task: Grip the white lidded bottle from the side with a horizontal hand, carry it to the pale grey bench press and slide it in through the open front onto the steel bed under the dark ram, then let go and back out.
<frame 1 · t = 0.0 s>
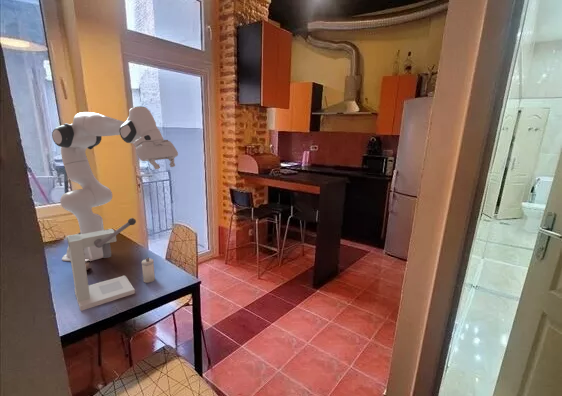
hand: (165, 167, 130), 54 cm above the table, fingers open, 8 cm apart
white lidded bottle: (149, 280, 137), on the table
press: (111, 291, 127), on the table
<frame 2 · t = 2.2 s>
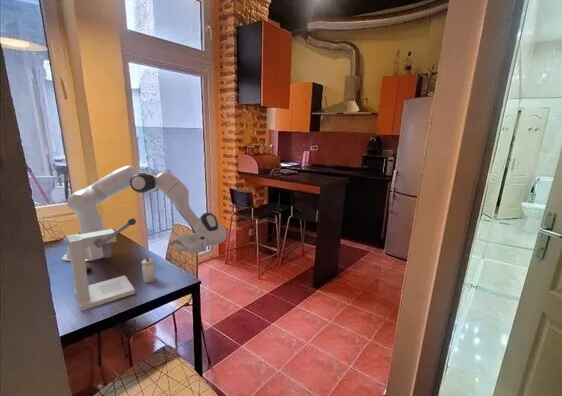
hand: (172, 246, 142), 14 cm above the table, fingers open, 8 cm apart
nothing on the table moved.
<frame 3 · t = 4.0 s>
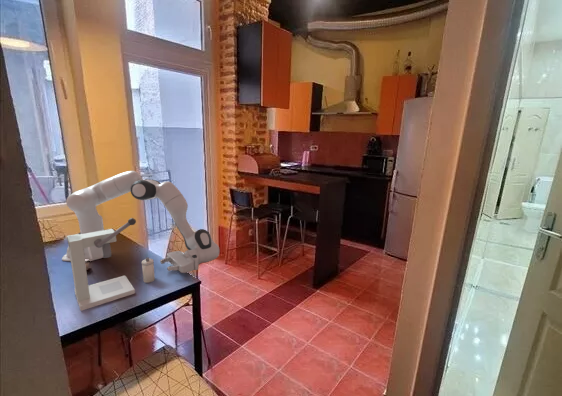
hand: (164, 265, 141), 5 cm above the table, fingers open, 8 cm apart
nothing on the table moved.
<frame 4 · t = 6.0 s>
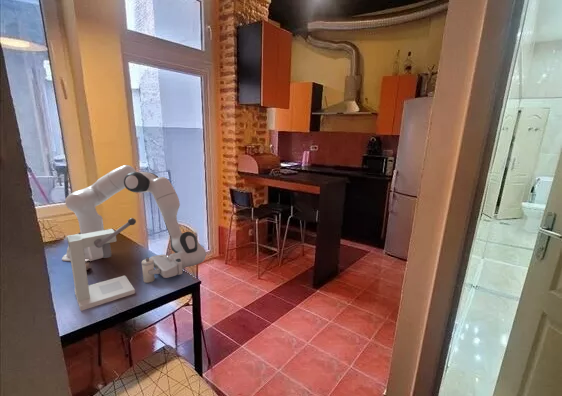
hand: (146, 270, 136), 6 cm above the table, fingers closed on white lidded bottle, 5 cm apart
white lidded bottle: (149, 280, 137), on the table, touching gripper
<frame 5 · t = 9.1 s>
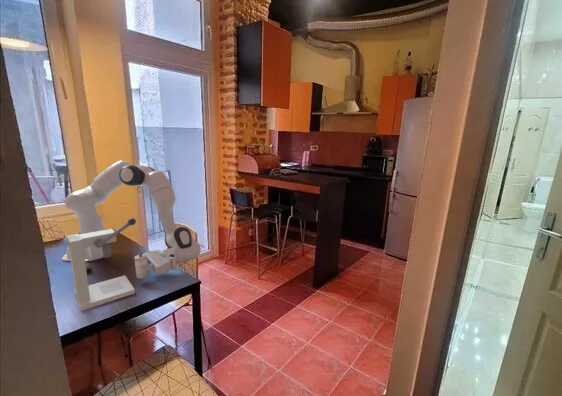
hand: (139, 265, 133), 9 cm above the table, fingers closed on white lidded bottle, 5 cm apart
white lidded bottle: (142, 275, 135), point 3 cm above the table, touching gripper
when the fingers open (8 cm above the table, at t = 12.1 s): white lidded bottle stays where it is, resting on press.
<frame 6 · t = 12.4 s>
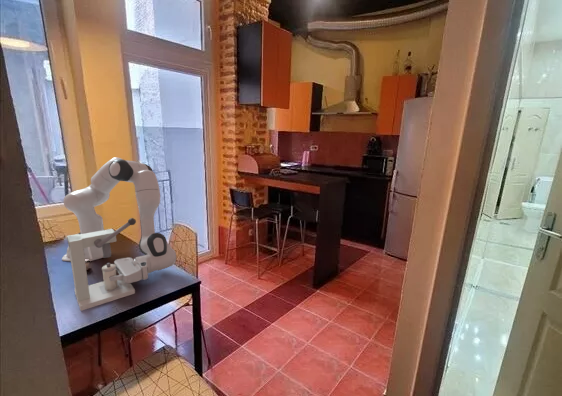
hand: (107, 274, 124), 8 cm above the table, fingers open, 8 cm apart
white lidded bottle: (111, 287, 126), point 2 cm above the table, touching press
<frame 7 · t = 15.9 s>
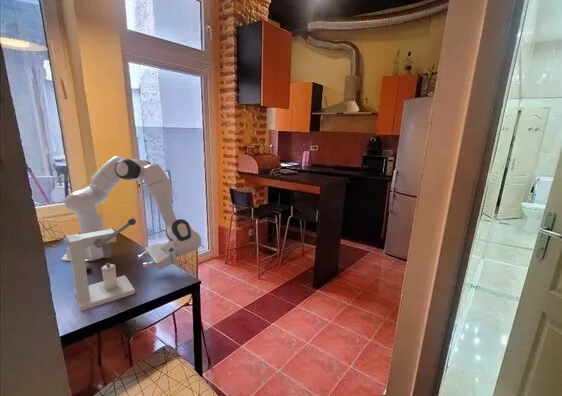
hand: (140, 261, 135), 10 cm above the table, fingers open, 8 cm apart
nothing on the table moved.
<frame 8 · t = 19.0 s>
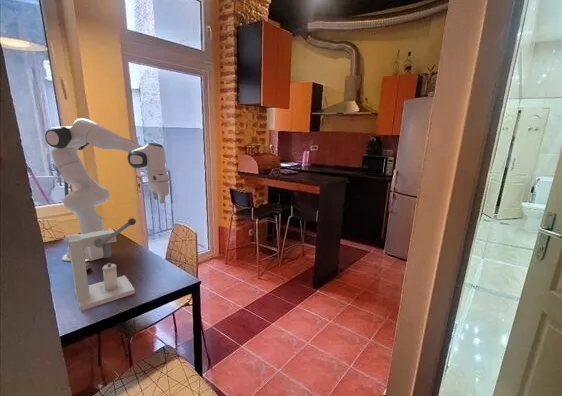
hand: (159, 201, 150), 34 cm above the table, fingers open, 8 cm apart
nothing on the table moved.
at the end: white lidded bottle 0.0 cm off-centre on the press, point 2.1 cm above the press's base; white lidded bottle tilted 2°; the gripper is holding nothing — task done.
